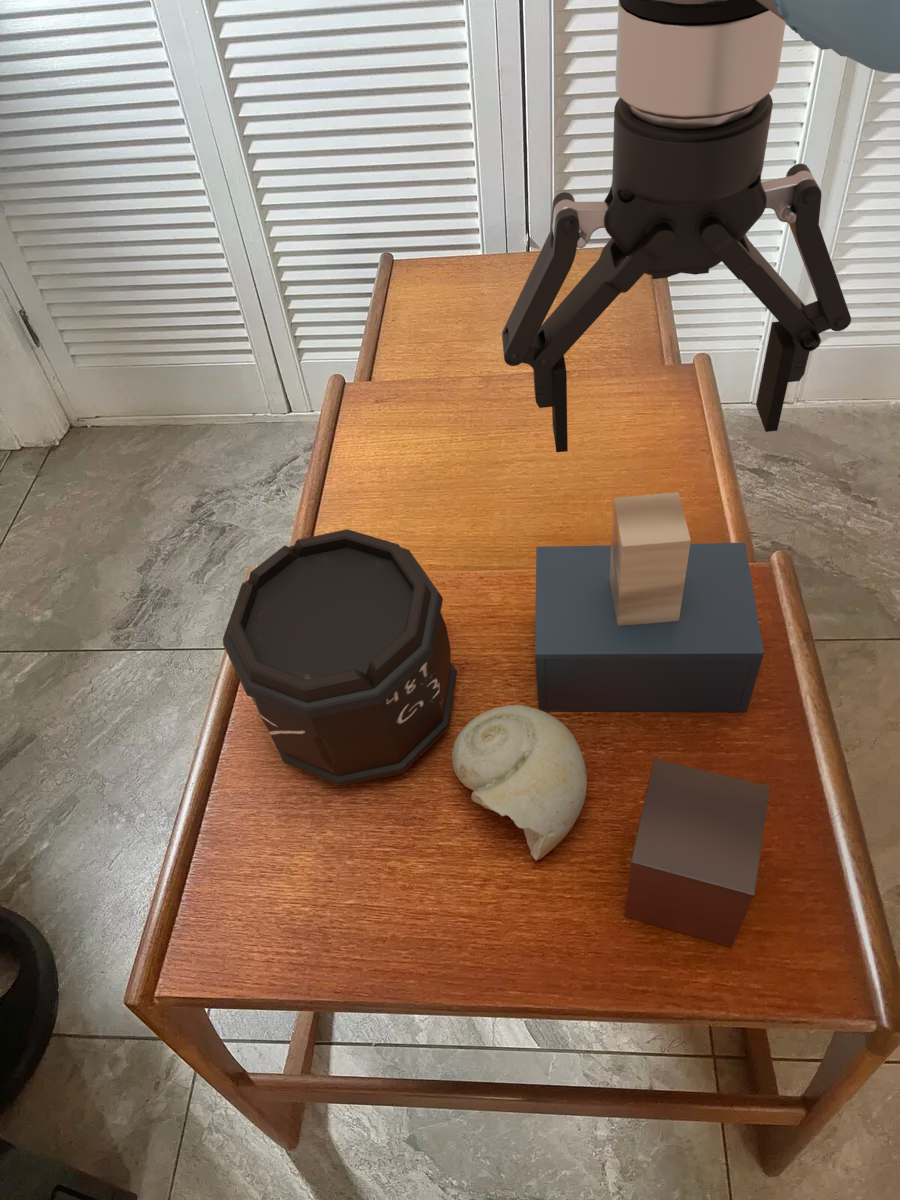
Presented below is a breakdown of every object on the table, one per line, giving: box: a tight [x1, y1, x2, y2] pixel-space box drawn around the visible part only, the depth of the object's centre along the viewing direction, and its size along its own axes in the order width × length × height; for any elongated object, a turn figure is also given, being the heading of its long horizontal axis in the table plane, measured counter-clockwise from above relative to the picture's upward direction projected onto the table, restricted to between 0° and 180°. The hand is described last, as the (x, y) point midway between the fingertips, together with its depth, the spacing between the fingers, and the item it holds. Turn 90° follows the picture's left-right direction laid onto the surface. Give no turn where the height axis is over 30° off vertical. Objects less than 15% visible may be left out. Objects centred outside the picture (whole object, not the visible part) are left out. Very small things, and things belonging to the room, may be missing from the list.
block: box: [610, 491, 692, 626], centre depth 72 cm, size 5×5×10 cm
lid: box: [534, 542, 765, 660], centre depth 76 cm, size 12×18×1 cm, turn 86°
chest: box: [534, 658, 763, 713], centre depth 79 cm, size 11×18×8 cm, turn 86°
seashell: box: [451, 704, 588, 861], centre depth 73 cm, size 13×8×10 cm
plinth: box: [623, 758, 771, 948], centre depth 66 cm, size 8×8×11 cm
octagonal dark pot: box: [222, 528, 458, 787], centre depth 77 cm, size 18×18×16 cm
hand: (662, 428), depth 60 cm, fingers open, 13 cm apart
